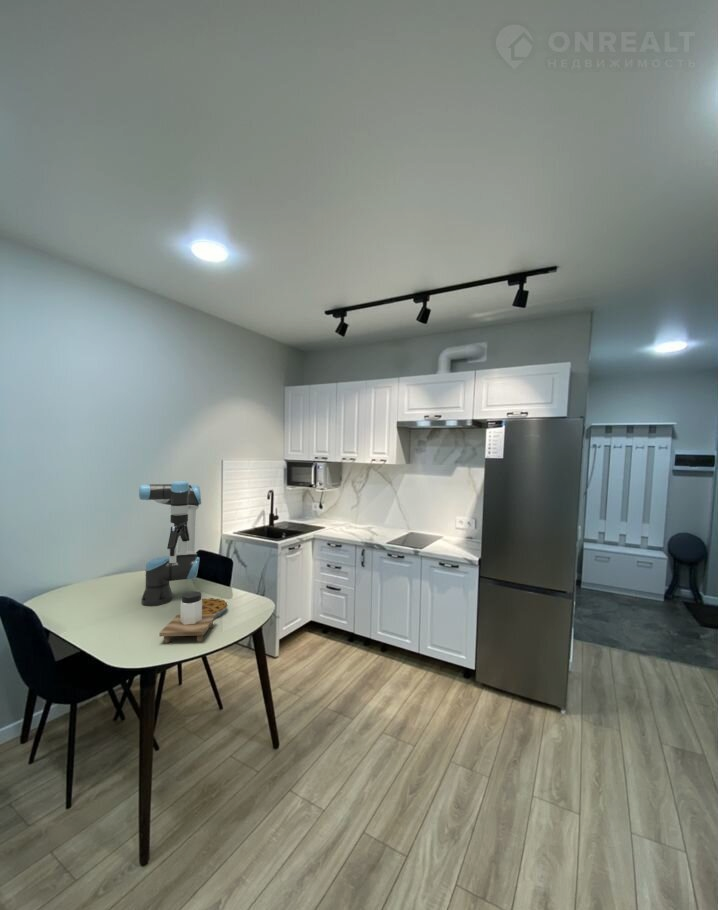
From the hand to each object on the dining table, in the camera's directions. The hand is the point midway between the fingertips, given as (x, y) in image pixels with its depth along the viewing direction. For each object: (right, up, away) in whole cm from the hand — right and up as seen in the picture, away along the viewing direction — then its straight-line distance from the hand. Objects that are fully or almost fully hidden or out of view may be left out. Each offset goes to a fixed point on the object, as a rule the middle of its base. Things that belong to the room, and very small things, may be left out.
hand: (178, 558), depth 175 cm
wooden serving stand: (+10, -31, -10) cm, 34 cm away
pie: (+7, -32, +12) cm, 35 cm away
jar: (+10, -26, -8) cm, 29 cm away
